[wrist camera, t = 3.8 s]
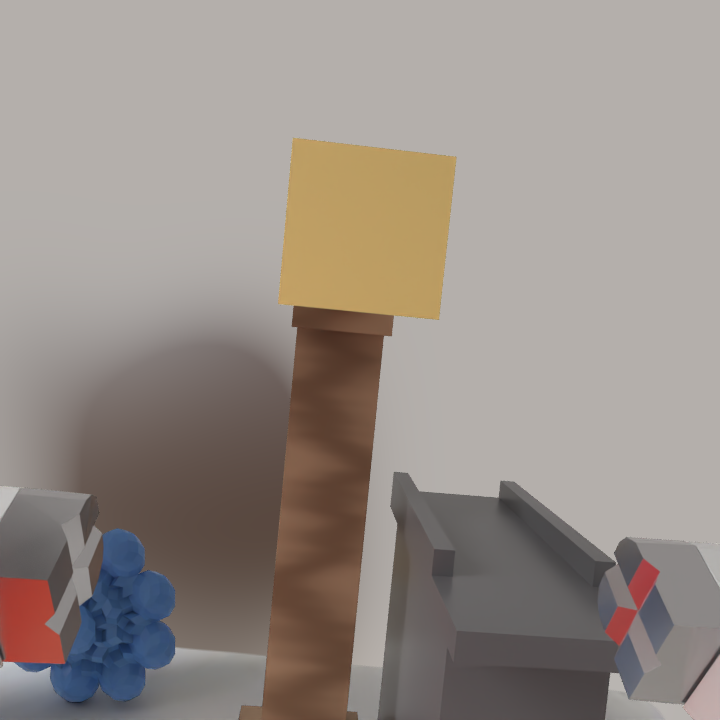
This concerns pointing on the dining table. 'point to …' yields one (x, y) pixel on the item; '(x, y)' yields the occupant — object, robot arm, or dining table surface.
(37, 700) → the dining table surface
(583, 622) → the cradle
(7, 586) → the robot arm
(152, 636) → the grapes
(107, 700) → the dining table surface
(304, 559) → the stand
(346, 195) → the yellow rectangular bar
